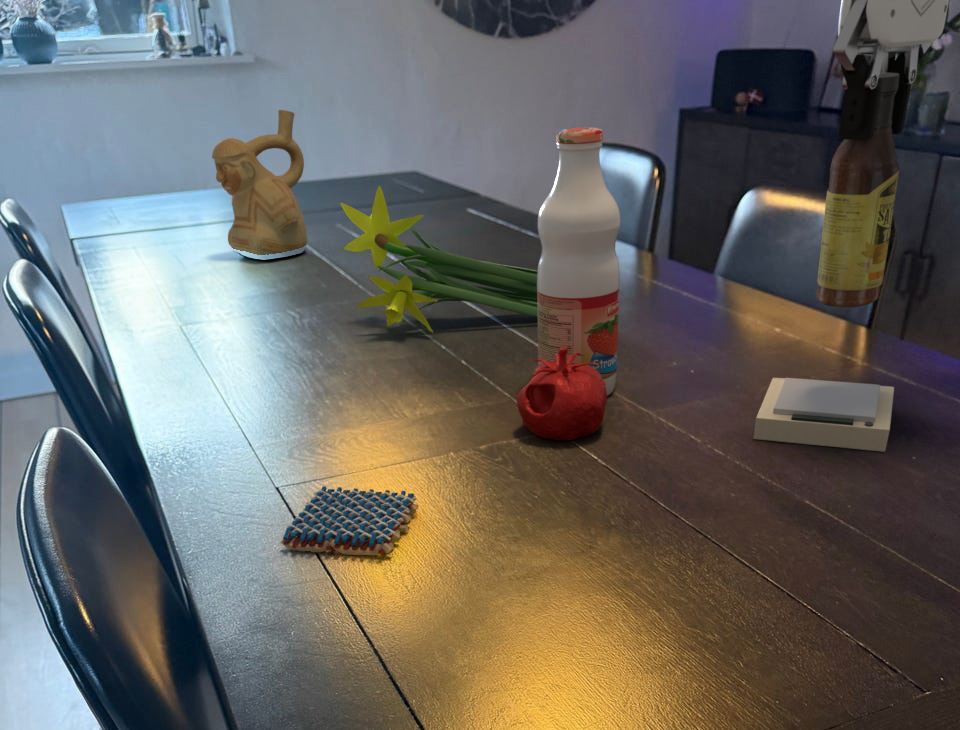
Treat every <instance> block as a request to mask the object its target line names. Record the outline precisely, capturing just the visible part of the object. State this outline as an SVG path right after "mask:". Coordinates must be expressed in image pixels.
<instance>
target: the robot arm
mask: <svg viewBox="0 0 960 730" xmlns="http://www.w3.org/2000/svg"><path fill="white" fill-rule="evenodd" d="M949 2H950V0H841V2H840V8H839V14H838V26H837V38H836V41H835V42H834V45H833V48H832V53H833V55H834V57H835V59H836V60H837V61H838V63H839V65H840V70H841V72H842V74H843V77H842V82H841V83H842V84H841V86H842V88H843V90H844V95H843V101H842V109H841V115H840V122H839V128H838V138H839V140H844V139H849V140H870V139H871V138H872V137H873V133H874V127H875V121H876V115H877V109H878V103H879V97H880V91H881V89H874V88H875V87H876V85H877V82H878V78H879V75H880V73H898V74H899V75H900V77H899V86H898V90H897V93H896V95H895V99H894V107H893V114H892V126H891V128H892V134H893V135H899V134H902V133H903V131H904V129H905V128H904V127H905V123H906V116H907V110H908V105H909V100H910V94H911V88H912V84H913V83H914V82H915V81H916V78H917V74H918V73H917V72H918V66H919V65H920V63H921V61H922V59H923V58H924V55H925V53H926V52H927V51H928V50H929V48H930V47H931V46H932V45H933V43H934V42H935V41H936V40H937V39H938V38H940V36H941V35H942V34H943V31H944V28H945V25H946V19H947V14H948V8H949ZM897 53H899V54H898V55H897ZM896 56H897V57H896ZM866 57H870V59H869V63H868V61H867V58H866Z"/></svg>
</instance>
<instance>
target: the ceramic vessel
mask: <svg viewBox="0 0 960 730" xmlns="http://www.w3.org/2000/svg"><path fill="white" fill-rule="evenodd" d="M277 115H278V116H277V121H278V122H277V133H275V134H263V135H259V136H257V137H254V138H252V139H250V140H248V141H246V142H244V141H243V140H242V139H238V138H234V137H229V138H225V139H222V140H220V141H219V142H218V143H217V144H216V145H215V146H214V148H213V150H212V153H211V159H213V160H214V164H215V165H214V166H215V169H216V174H215V179H216V181H217V182H218V183H221V187H222V188H223V189H224V191H226V192H227V194H228V195H230V196H231V207H232V212H233V223H232V225H231V227H230V228H229V229H228V233H227V243H228V245H229V246H230V247H231V249H232V248H233V249H236V250H240V251H246V252H249V253H253V254H257V255H266V254H267V255H269V254H276V253H282V252H287V251H292V250H295V249H299V248H302V247H304V246H306V245H307V244H308V233H307V232H308V231H307V226H306V221H305V217H304V214H303V211H302V208H301V206H300V203H299V201H298V199H297V197H296V196H295V194H294V192H293V191H292V188H293V187H294V186H296V185H297V184H298V182H299V181H300V179H301V178H302V176H303V173H304V169H305V159H304V155H303V151H302V149H301V147H300V146H299V144H298V143H297V142H296V140H295V139H293V128H294V127H293V126H294V119H295V112H293V111H291V110H286V109H278V110H277ZM272 149H280V150H283V151H285V152H287V154H288V155H289V160H290V164H289V167H288V169H287V171H285V173H283V174H280V175H275V174H274V173H273V172H271V171H270V170H269V169H268V168H266V167H265V166H264V165H263V164H262V163H261V162H260V161H259V159H258V156H259V155H260V154H261V153H263V152H265V151H266V150H272ZM306 247H307V246H306ZM233 249H232V250H233Z"/></svg>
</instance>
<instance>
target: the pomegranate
mask: <svg viewBox="0 0 960 730" xmlns="http://www.w3.org/2000/svg"><path fill="white" fill-rule="evenodd" d="M558 352H559V354H555V355H553V356H555V357H556V362H552V361H551V362H548V361H546V360H544V359H538V358H537V359H532V360H530V362H538V361H540V362H542V363H544V364H540V365H538V364H537V366H536V367H535V370H534V372H533V373H532V374H531V379H530V380H529V382H528V383H527V384H526V385H525V386H523V387H522V388H521V389H520V391H518V393H517V396H516V406H517V409H518V413H519V415H520V417H521V420H522V423H523V424H524V426H525V427H526V428H527V429H528V430H529V431H531V433H533V434H534V435H536V436H538V437H540V438H543V439H548V440H554V441H572V440H576V439H579V438H582V437H583V438H584V437H586V436H590V435H593V434H594V433H595V432H596V431H598V430H599V428H600V427H601V426H602V425H603V421H604V417H605V411H606V404H607V399H608V396H607V391H606V386H605V383H604V381H603V379H602V377H601V375H600V373H599V372H598V371H597V370H596V369H595V368H593V367H591V366H589V365H587V364H590V365H596V366H598V365H600V364H595V363H592V362H587V363H582V364H578V363H574V362H573V360H574V359H575V357H576V356H584V355H581V354H579V353H577V352H576V353H574V354H573V355H571V356H570V357H569V358H567V359H566V354H567V352H568V348H567V347H566V346H563V347H561V348H559V351H558Z"/></svg>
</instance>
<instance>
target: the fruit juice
mask: <svg viewBox="0 0 960 730" xmlns="http://www.w3.org/2000/svg"><path fill="white" fill-rule="evenodd" d="M603 141H604V133H603V129H602V128H599V127H573V128H563V129H560V130H557V131H556V137H555V143H556V149H557V150H558V152H559V153H558V154H559V157H558V165H557V170H556V175H555V179H554V182H553V185H552V188H551V190H550V191H549V194H548V195H547V197H546V198H545V199H544V200H543V202H542V204H541V206H540V208H539V211H538V216H537V232H538V236H539V240H540V245H541V255H540V257H539V261H538V265H537V270H538V272H537V274H536V275H537V303H538V317H537V359H544V360H546V361H548V362H551V361H552V362H556V357H555V356H553V355H555V354H559V352H558V351H559V348H561V347H563V346H566V347H567V348H568V352H567V354H566V359H567V358H569V357H570V356H571V355H573V354H574V353H576V352H577V353H579V354H581V355H584V356H576V357H575V359H574V360H573V362H574V363H578V364H582V363H587V362H592V363H595V364H600V365H598V366H596V365H590V364H587V365H589V366H591V367H593V368H595V369H596V370H597V371H598V372H599V373H600V375H601V377H602V379H603V381H604V383H605V386H606V391H607V397H608V396H610V395H611V394H612V393H613V392H614V390H615V389H616V384H617V373H618V372H617V371H618V370H617V369H618V341H619V340H618V339H619V313H620V312H619V310H620V309H619V308H620V307H619V306H620V285H621V284H620V283H621V275H620V274H621V271H620V261H619V257H618V255H617V252H616V243H617V239H618V235H619V232H620V228H621V211H620V208H619V204H618V203H617V201H616V199H615V198H614V196H613V195H612V193H611V192H610V190H609V189H608V188H607V185H606V182H605V178H604V174H603V170H602V167H601V160H600V152H601V151H600V150H601V148H602V147H603ZM537 363H538V364H537V366H538V365H540V364H544V363H542V362H540V361H537Z"/></svg>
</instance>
